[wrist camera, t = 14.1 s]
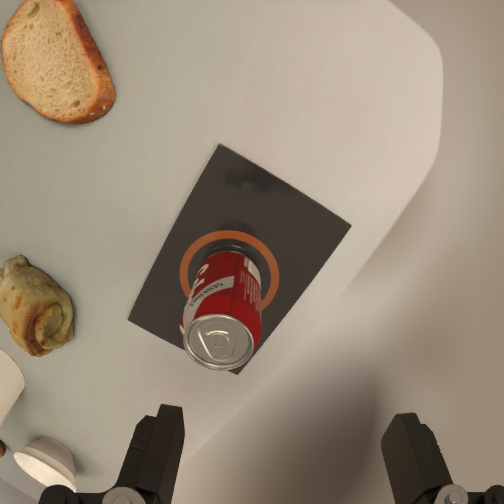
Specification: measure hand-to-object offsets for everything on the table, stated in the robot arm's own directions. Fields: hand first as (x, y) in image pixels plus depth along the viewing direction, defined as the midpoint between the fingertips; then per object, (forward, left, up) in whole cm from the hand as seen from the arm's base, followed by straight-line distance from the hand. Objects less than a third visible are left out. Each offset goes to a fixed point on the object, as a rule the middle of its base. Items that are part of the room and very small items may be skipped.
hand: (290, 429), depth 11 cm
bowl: (+51, +48, -25) cm, 74 cm away
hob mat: (+5, +6, -25) cm, 26 cm away
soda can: (+5, +5, -25) cm, 26 cm away
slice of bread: (+22, -23, -25) cm, 41 cm away
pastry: (+32, +8, -25) cm, 41 cm away
